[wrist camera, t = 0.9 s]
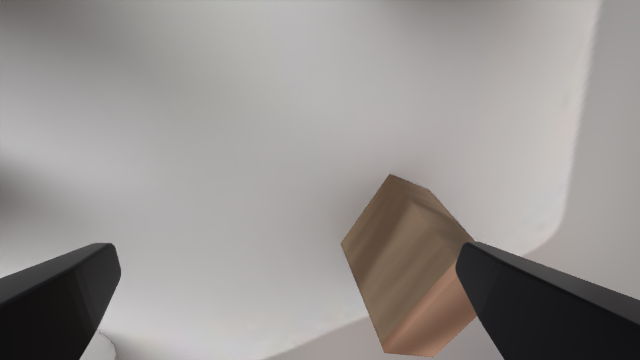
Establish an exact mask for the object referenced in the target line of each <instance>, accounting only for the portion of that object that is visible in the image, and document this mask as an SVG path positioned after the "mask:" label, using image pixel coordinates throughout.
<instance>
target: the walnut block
mask: <svg viewBox="0 0 640 360" xmlns="http://www.w3.org/2000/svg"><path fill="white" fill-rule="evenodd" d="M465 242H475V241H474V239H473V238H472V237H471V236H470V235H469V234H468V233H467V232H466V231H465V229H464V228H463V227H462V226H461V225H460V224H459V223H458V222H457V220H456V219H455V218H454V217H453V216H452V215H451V214H450V213H449V212H448V210H447V209H446V208H445V207H444V206H443V205H442V204H441V203H440V201H439V200H438V199H437V198H436V197H435V196H434V195H433V194H432V193H431V191H430V190H428V189H426V188H423V187H421V186H418V185H416V184H413V183H411V182H409V181H406V180H404V179H401V178H399V177H396V176H394V175H391V174H389V176H388V177H387V179H386V180H385V181H384V183H383V184H382V186H381V187H380V189H379V190H378V191H377V193H376V194H375V196H374V197H373V198H372V200H371V201H370V203H369V204H368V206H367V207H366V208H365V210H364V211H363V213H362V214H361V216H360V217H359V218H358V220H357V221H356V223H355V224H354V226H353V227H352V228H351V230H350V231H349V233H348V234H347V235H346V237H345V238H344V240H343V241H342V243H341V246H342V248H343V251H344V253H345V256H346V258H347V261H348V263H349V266H350V268H351V271H352V273H353V276H354V278H355V281H356V283H357V286H358V288H359V291H360V293H361V296H362V298H363V301H364V303H365V306H366V308H367V311H368V313H369V316H370V318H371V320H372V323H373V326H374V328H375V330H376V333H377V335H378V338H379V340H380V343H381V345H382V348H383V350H384V353H392V354H402V355H413V356H424V357H434V356H435V355H436V354H437V353H438V352H439V351H440V350H442V349H443V348H444V346H446V345H447V344H448V343H449V342H450V341H451V340H452V339H453V338H454V337H455V336H456V335H457V334H458V333H459V332H461V331H462V329H464V328H465V327H466V326H467V325H468V324H469V323H470V322H471V321H472V320H473V319H474V318H475V317H476V316H477V314H476V313H475V311H474V309H473V307H472V305H471V303H470V301H469V299H468V297H467V295H466V293H465V291H464V289H463V287H462V285H461V283H460V281H459V279H458V277H457V274H456V270H455V265H456V262H457V259H458V256H459V253H460V250H461V247H462V245H463V244H464V243H465Z"/></svg>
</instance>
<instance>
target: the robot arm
mask: <svg viewBox="0 0 640 360" xmlns="http://www.w3.org/2000/svg"><path fill="white" fill-rule="evenodd" d="M455 270H456V274H457V277H458V279H459V281H460V283H461V285H462V287H463V289H464V291H465V293H466V295H467V297H468V299H469V301H470V303H471V305H472V307H473V309H474V311H475V313H476V314H477V316H478V318H479V320H480V321H481V323H482V325H483V326H484V328H485V330H486V331H487V333H488V334H489V336H490V337H491V339H492V341H493V342H494V344H495V345H496V347H497V349H498V350H499V352H500V353H501V355H502V356H503V358H504V360H640V300H637V299H634V298H632V297H629V296H627V295H624V294H621V293H618V292H616V291H613V290H610V289H607V288H604V287H602V286H599V285H596V284H593V283H591V282H588V281H585V280H583V279H580V278H577V277H575V276H572V275H569V274H566V273H563V272H561V271H558V270H555V269H553V268H550V267H547V266H544V265H542V264H539V263H536V262H533V261H531V260H528V259H525V258H522V257H520V256H517V255H514V254H511V253H509V252H506V251H503V250H501V249H498V248H495V247H492V246H490V245H487V244H484V243H481V242H465V243H464V244H463V245H462V247H461V250H460V253H459V256H458V259H457V262H456V265H455ZM120 277H121V268H120V264H119V260H118V256H117V252H116V248H115V246H114V245H113V244H112V243H94V244H90V245H88V246H85V247H82V248H80V249H77V250H74V251H72V252H69V253H67V254H64V255H61V256H59V257H56V258H53V259H51V260H48V261H45V262H43V263H40V264H37V265H35V266H32V267H30V268H27V269H24V270H22V271H19V272H16V273H14V274H11V275H8V276H6V277H3V278H0V360H80V358H81V356H82V355H83V353H84V351H85V350H86V348H87V346H88V345H89V343H90V341H91V339H92V338H93V336H94V334H95V332H96V330H97V328H98V326H99V324H100V322H101V320H102V318H103V316H104V313H105V311H106V309H107V307H108V305H109V302H110V300H111V298H112V296H113V294H114V291H115V289H116V287H117V285H118V283H119V280H120Z"/></svg>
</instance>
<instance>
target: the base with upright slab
mask: <svg viewBox="0 0 640 360" xmlns="http://www.w3.org/2000/svg"><path fill="white" fill-rule="evenodd" d="M115 357H116V352H115V347H114V345H113V344H112V343H111V341H110V340H109V339H108V338H107V337H106V336H104V335H103V334H101V333H100V332H98V331H96V332H95V334H94V336H93V338H92V339H91V341H90V343H89V345H88V346H87V348H86V350H85V351H84V353H83V355H82V356H81V358H80V360H115Z"/></svg>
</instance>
